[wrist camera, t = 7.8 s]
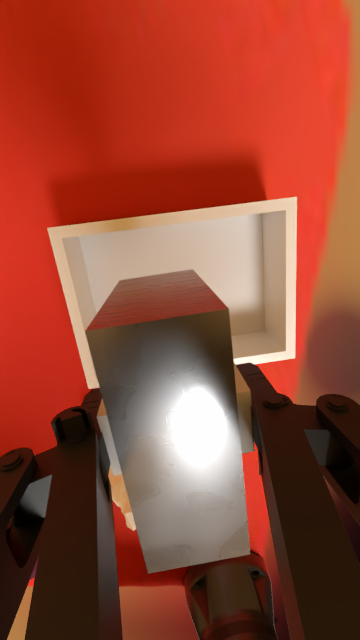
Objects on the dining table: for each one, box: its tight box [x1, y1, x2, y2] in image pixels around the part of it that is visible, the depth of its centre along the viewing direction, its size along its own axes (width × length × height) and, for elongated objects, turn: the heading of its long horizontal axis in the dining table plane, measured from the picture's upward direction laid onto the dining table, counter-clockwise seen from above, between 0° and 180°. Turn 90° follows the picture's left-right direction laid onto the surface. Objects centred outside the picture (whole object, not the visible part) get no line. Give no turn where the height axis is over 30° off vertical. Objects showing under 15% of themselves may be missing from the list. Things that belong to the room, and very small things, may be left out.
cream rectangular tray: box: [47, 197, 297, 389], centre depth 31 cm, size 16×22×7 cm
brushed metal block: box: [85, 269, 250, 574], centre depth 13 cm, size 10×4×8 cm, turn 8°
